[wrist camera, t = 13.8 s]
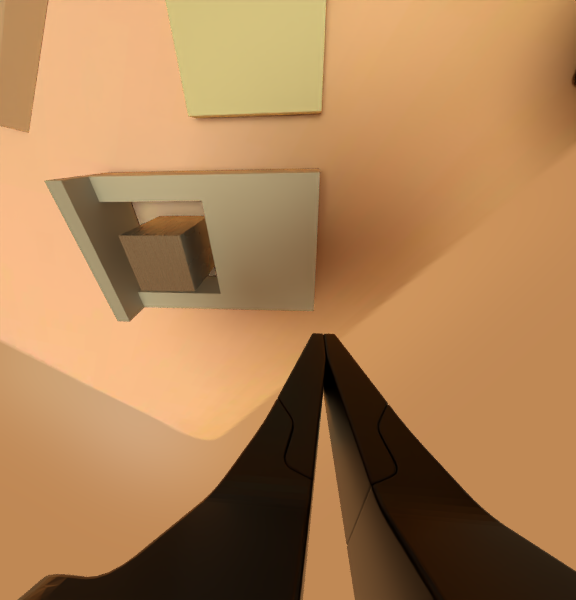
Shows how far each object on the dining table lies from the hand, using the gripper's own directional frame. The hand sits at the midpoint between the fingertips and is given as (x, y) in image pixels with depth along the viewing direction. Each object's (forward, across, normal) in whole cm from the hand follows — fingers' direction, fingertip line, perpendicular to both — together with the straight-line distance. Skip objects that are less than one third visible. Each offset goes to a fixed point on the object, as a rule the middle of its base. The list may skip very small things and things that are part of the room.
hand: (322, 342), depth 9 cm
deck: (+12, +8, 0) cm, 14 cm away
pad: (+12, +4, -12) cm, 17 cm away
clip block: (+10, +8, 0) cm, 13 cm away
